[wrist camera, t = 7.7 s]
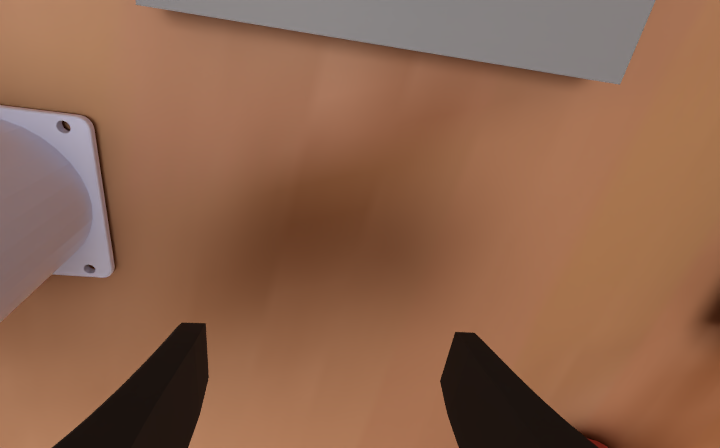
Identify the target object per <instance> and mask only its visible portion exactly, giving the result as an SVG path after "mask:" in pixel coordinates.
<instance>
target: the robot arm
mask: <svg viewBox="0 0 720 448" xmlns="http://www.w3.org/2000/svg"><path fill="white" fill-rule="evenodd" d="M62 121H65V122H67V123H68V124H69V125H70V127H71V130H70V131H68V130H66V129H65V128H64V127H63V125H62ZM88 265H92V266H93V267H94V268H95V269H92V268H90V267H89V266H88ZM114 269H115V265H114V258H113V251H112V245H111V238H110V231H109V224H108V218H107V211H106V204H105V197H104V191H103V184H102V177H101V170H100V164H99V157H98V150H97V144H96V137H95V130H94V126H93V123H92V122H91V121H90V120H89V119H88V118H86V117H85V116H82V115H78V114H69V113H61V112H53V111H45V110H37V109H29V108H21V107H12V106H4V105H0V322H1V321H3V320H4V319H5V318H6V317H7V316H8V315H9V314H10V313H11V312H12V311H13V310H14V309H15V308H16V307H17V306H19V305H20V304H21V303H22V302H23V301H24V300H25V299H26V298H27V297H28V296H29V295H30V294H31V293H32V292H34V291H35V290H36V289H37V288H38V287H39V286H40V285H41V284H42V283H43V282H44V281H45V280H46V279H47V278H49V277H50V276H51V275H52V274H53V275H68V276H84V277H99V278H105V277H108V276H110V275H111V274H112V272H113V271H114ZM208 378H209V375H208V357H207V340H206V323H181V324H180V325H179V326H178V327H177V328H176V329H175V330H174V331H173V332H172V333H171V335H170V336H169V337H168V338H167V339H166V340H165V341H164V342H163V343H162V345H161V346H160V347H159V348H158V349H157V350H156V351H155V352H154V353H153V354H152V355H151V356H150V357H149V359H148V360H147V361H146V362H145V363H144V364H143V365H142V366H141V367H140V368H139V369H138V370H137V371H136V372H135V373H134V374H133V375H132V376H131V377H130V378H129V379H128V380H127V381H126V382H125V383H124V384H123V385H122V386H121V387H120V388H119V389H118V390H117V391H116V392H115V393H114V394H113V395H111V396H110V397H109V398H108V399H107V400H106V401H105V402H104V403H103V404H102V405H101V406H100V407H99V408H97V409H96V410H95V411H94V412H93V413H92V414H91V415H90V416H89V417H88V418H87V419H85V420H84V421H83V422H82V423H81V424H80V425H78V426H77V427H76V428H75V429H74V430H73V431H71V432H70V433H69V434H68V435H67V436H66V437H64V438H63V439H62V440H61V441H59V442H58V443H57V444H56V445H55V446H53V447H52V448H188V446H189V443H190V441H191V438H192V435H193V432H194V429H195V426H196V424H197V421H198V418H199V415H200V411H201V407H202V403H203V399H204V395H205V391H206V386H207V382H208ZM440 382H441V387H442V392H443V397H444V401H445V405H446V410H447V414H448V417H449V420H450V423H451V426H452V429H453V432H454V435H455V438H456V441H457V444H458V446H459V448H599V447H597V446H596V445H595V444H594V443H592V442H591V441H590V440H588V439H587V438H586V437H585V436H583V435H582V434H581V433H580V432H578V431H577V430H576V429H575V428H574V427H572V426H571V425H570V424H569V423H568V422H567V421H565V420H564V419H563V418H562V417H561V416H560V415H559V414H557V413H556V412H555V411H554V410H553V409H552V408H551V407H550V406H549V405H547V404H546V403H545V402H544V401H543V400H542V399H541V398H540V397H539V396H538V395H537V394H536V393H534V392H533V391H532V390H531V389H530V388H529V387H528V386H527V385H526V384H525V383H524V382H523V381H522V380H521V379H520V378H519V377H518V376H517V375H516V374H515V373H514V372H513V371H512V370H511V369H510V368H509V367H508V366H507V365H506V364H505V363H504V362H503V361H502V360H501V359H500V358H499V357H498V356H497V355H496V354H495V353H494V352H493V351H492V350H491V349H490V348H489V347H488V346H487V345H486V344H485V343H484V342H483V341H482V340H481V339H480V338H479V337H478V336H477V335H476V334H475V333H465V332H455V335H454V338H453V341H452V345H451V348H450V351H449V354H448V357H447V361H446V364H445V367H444V370H443V374H442V377H441V380H440Z"/></svg>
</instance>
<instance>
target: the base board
mask: <svg viewBox="0 0 720 448" xmlns="http://www.w3.org/2000/svg"><path fill="white" fill-rule="evenodd" d="M654 3H655V0H136V5H141V6H147V7H153V8H159V9H165V10H171V11H177V12H183V13H190V14H196V15H202V16H208V17H214V18H220V19H226V20H232V21H238V22H244V23H250V24H256V25H262V26H268V27H274V28H280V29H286V30H293V31H299V32H305V33H311V34H317V35H323V36H329V37H335V38H341V39H347V40H353V41H359V42H365V43H371V44H377V45H383V46H389V47H395V48H402V49H408V50H414V51H420V52H426V53H432V54H438V55H444V56H450V57H456V58H462V59H468V60H474V61H480V62H486V63H492V64H498V65H505V66H511V67H517V68H523V69H529V70H535V71H541V72H547V73H553V74H559V75H565V76H571V77H577V78H583V79H589V80H595V81H601V82H608V83H614V84H620V83H621V81H622V78H623V76H624V74H625V71H626V69H627V67H628V64H629V62H630V60H631V57H632V55H633V52H634V50H635V48H636V45H637V43H638V41H639V38H640V36H641V33H642V31H643V29H644V26H645V24H646V22H647V19H648V17H649V15H650V12H651V10H652V7H653V5H654Z"/></svg>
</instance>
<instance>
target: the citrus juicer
mask: <svg viewBox="0 0 720 448" xmlns="http://www.w3.org/2000/svg"><path fill="white" fill-rule="evenodd" d="M587 439H588V438H587ZM588 440H590V441H591V442H592V443H594V444H595V445H596V446H597V447H599V448H608V447H607V446H606V445H604V444H602V443H600V442H598V441H595V440H591V439H588Z"/></svg>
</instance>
